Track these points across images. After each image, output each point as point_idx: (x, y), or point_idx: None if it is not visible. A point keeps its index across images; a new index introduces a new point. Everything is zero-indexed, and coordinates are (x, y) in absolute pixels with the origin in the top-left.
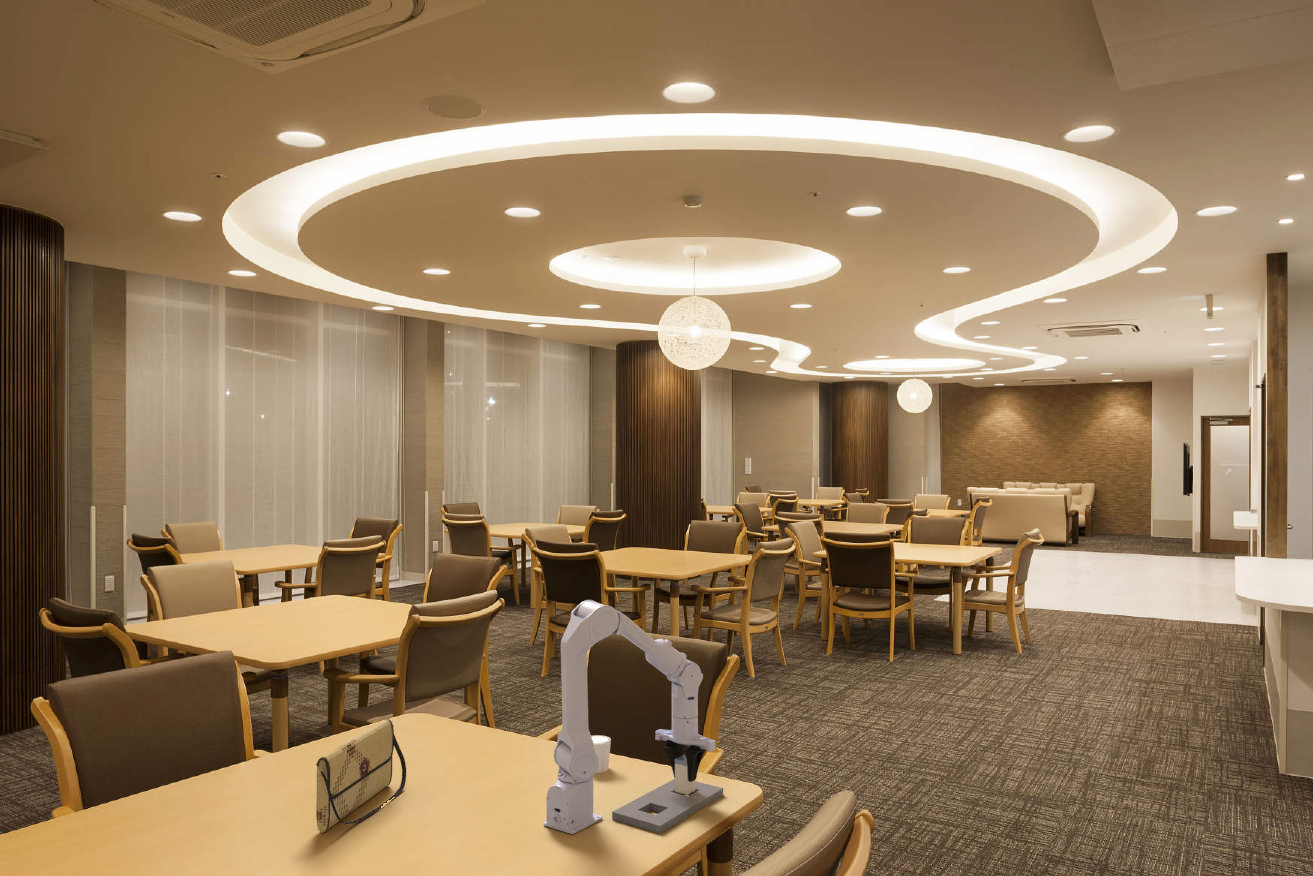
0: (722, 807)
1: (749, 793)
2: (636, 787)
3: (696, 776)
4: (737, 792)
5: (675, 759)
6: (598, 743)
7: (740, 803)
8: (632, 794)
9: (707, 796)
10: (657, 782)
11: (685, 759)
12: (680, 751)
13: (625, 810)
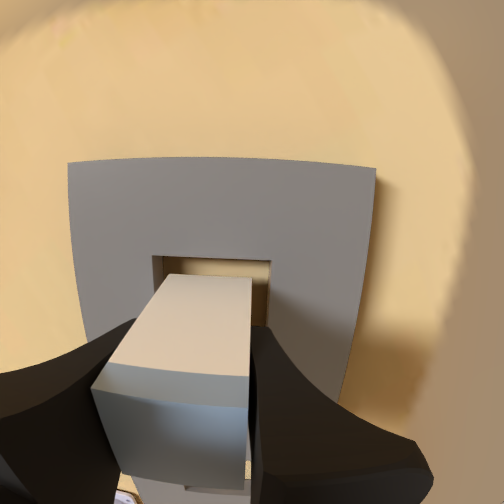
0: (410, 297)
1: (445, 90)
2: (8, 295)
3: (273, 335)
4: (400, 99)
5: (129, 473)
6: None
7: (457, 218)
8: (43, 355)
9: (350, 318)
10: (20, 205)
11: (197, 467)
12: (77, 441)
13: (162, 497)
